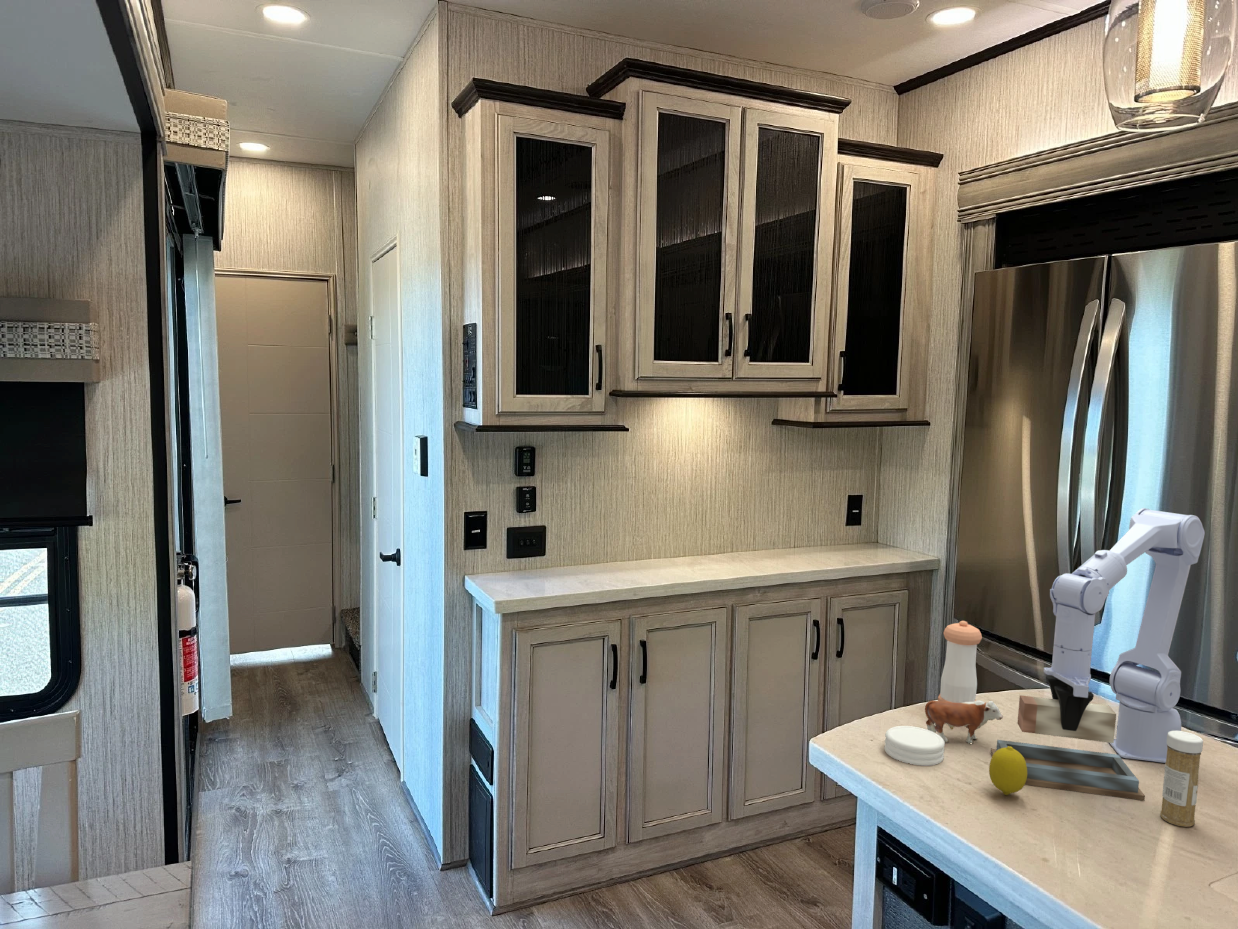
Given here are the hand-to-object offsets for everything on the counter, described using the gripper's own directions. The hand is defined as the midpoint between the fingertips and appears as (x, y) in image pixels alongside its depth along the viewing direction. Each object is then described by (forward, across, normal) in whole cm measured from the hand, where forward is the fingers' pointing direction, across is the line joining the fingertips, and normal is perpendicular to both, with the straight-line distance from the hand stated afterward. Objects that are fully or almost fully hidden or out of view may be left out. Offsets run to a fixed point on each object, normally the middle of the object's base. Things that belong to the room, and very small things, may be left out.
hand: (1065, 724), depth 147 cm
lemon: (+9, +12, -11) cm, 18 cm away
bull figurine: (+9, -9, -15) cm, 19 cm away
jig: (+8, +1, 0) cm, 9 cm away
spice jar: (+9, +13, +13) cm, 20 cm away
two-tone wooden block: (+2, 0, 0) cm, 2 cm away
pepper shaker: (+9, -22, -14) cm, 27 cm away
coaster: (+9, 0, -24) cm, 26 cm away
